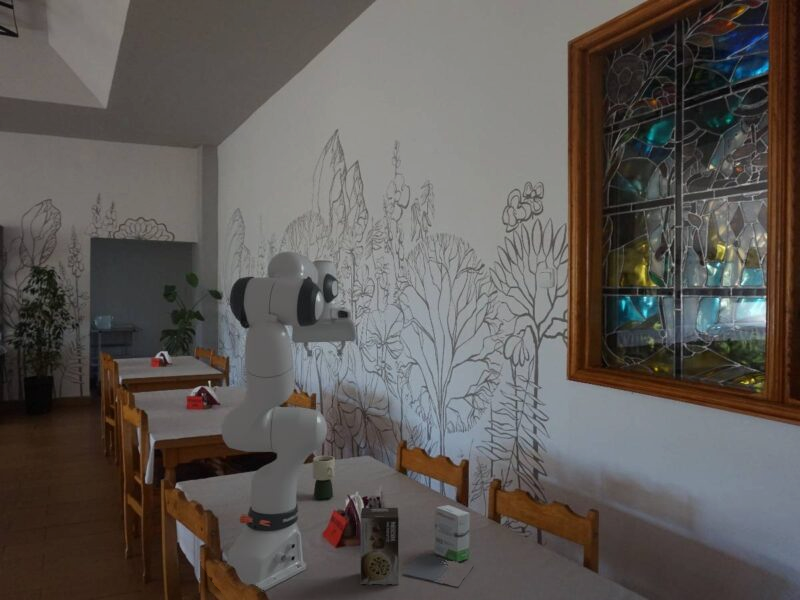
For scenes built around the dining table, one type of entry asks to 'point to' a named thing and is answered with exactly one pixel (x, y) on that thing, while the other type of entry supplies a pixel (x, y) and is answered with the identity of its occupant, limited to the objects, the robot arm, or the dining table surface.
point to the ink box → (452, 533)
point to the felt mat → (427, 568)
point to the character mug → (323, 476)
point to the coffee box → (379, 546)
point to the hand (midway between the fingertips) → (324, 355)
